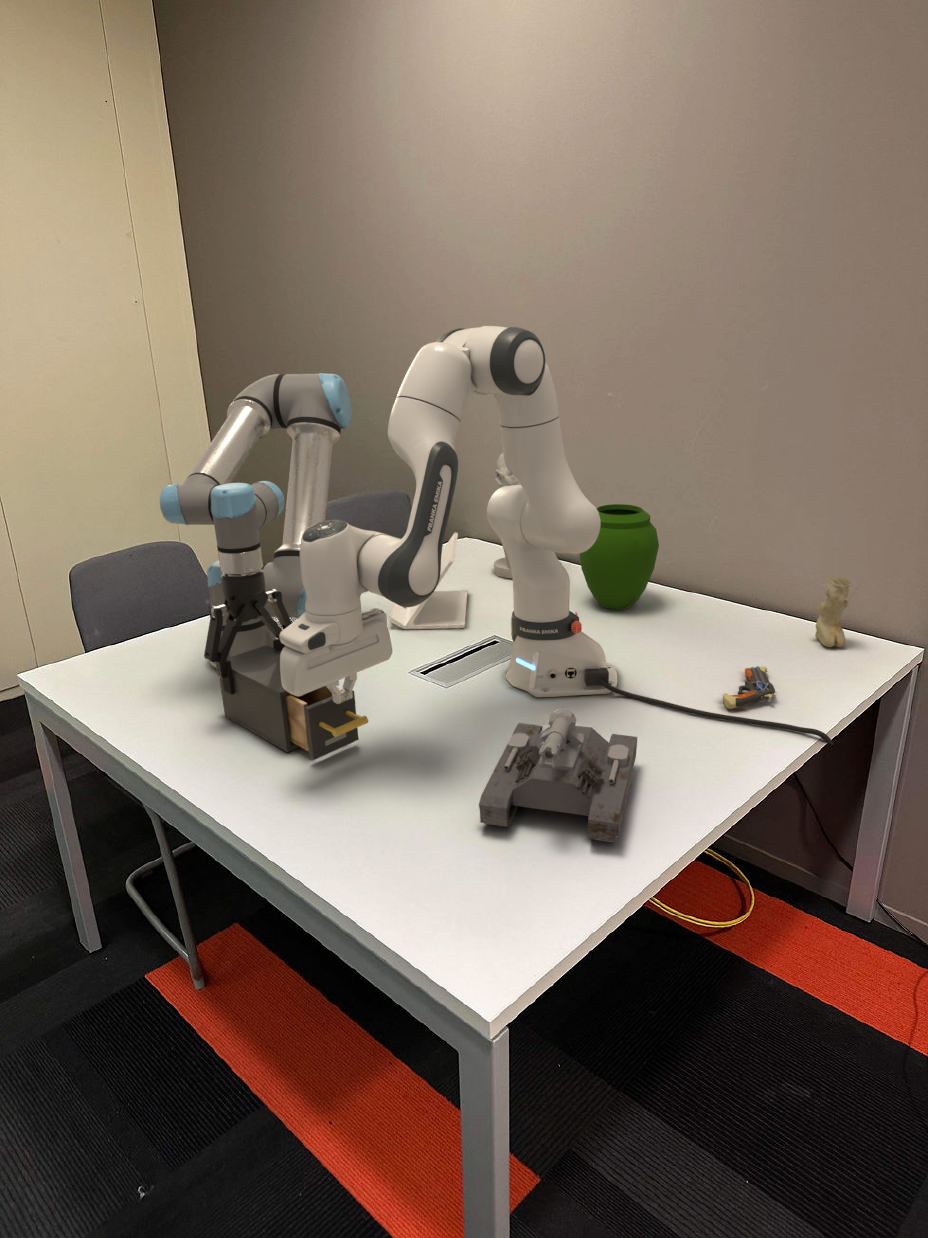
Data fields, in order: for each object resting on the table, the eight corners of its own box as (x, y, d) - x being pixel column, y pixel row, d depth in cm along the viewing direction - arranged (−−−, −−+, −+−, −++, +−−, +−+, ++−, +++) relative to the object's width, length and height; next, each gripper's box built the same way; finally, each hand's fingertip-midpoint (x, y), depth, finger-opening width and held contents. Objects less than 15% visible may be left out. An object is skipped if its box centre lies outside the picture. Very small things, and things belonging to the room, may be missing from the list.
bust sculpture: (503, 593, 225) (502, 460, 212) (483, 567, 247) (480, 445, 234) (562, 587, 228) (563, 456, 215) (536, 562, 250) (536, 441, 237)
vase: (599, 587, 227) (601, 497, 218) (668, 600, 216) (673, 505, 208) (562, 608, 212) (564, 513, 204) (634, 623, 202) (639, 523, 193)
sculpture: (821, 649, 184) (830, 583, 179) (808, 637, 191) (816, 573, 185) (848, 649, 184) (858, 582, 179) (834, 636, 191) (843, 572, 185)
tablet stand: (467, 593, 225) (465, 531, 219) (465, 628, 202) (462, 559, 196) (399, 594, 226) (395, 532, 220) (388, 629, 203) (384, 560, 197)
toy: (518, 748, 148) (518, 669, 142) (636, 762, 142) (640, 680, 137) (479, 832, 125) (476, 741, 120) (616, 853, 119) (620, 758, 114)
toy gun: (724, 699, 158) (781, 696, 155) (715, 664, 175) (766, 661, 173) (725, 713, 158) (782, 710, 156) (716, 677, 176) (766, 674, 174)
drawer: (377, 749, 146) (373, 699, 143) (332, 770, 140) (327, 719, 137) (294, 707, 163) (288, 661, 160) (250, 724, 157) (244, 677, 154)
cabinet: (337, 730, 155) (331, 673, 151) (287, 752, 148) (279, 693, 144) (273, 697, 170) (266, 645, 166) (224, 716, 163) (216, 661, 159)
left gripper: (285, 553, 164) (296, 658, 171) (172, 582, 149) (190, 696, 156) (307, 560, 159) (318, 668, 166) (193, 591, 143) (210, 708, 151)
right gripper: (372, 600, 145) (379, 674, 150) (270, 636, 132) (280, 716, 137) (397, 609, 141) (402, 684, 146) (293, 647, 128) (303, 728, 133)
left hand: (256, 682), depth 161 cm, fingers closed on cabinet, 11 cm apart
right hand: (342, 700), depth 141 cm, fingers closed
